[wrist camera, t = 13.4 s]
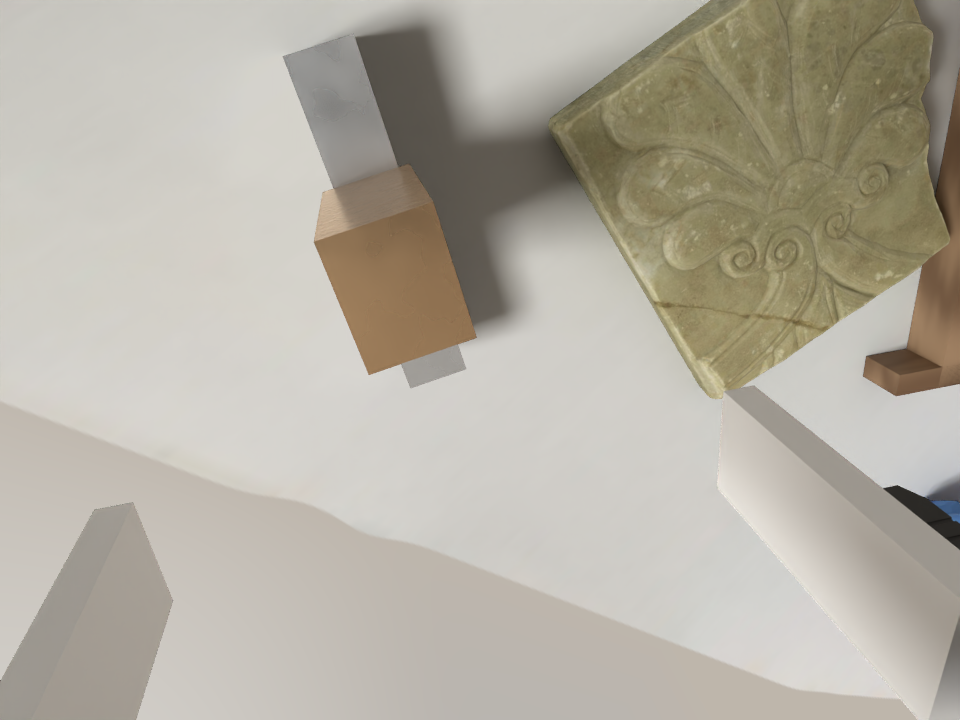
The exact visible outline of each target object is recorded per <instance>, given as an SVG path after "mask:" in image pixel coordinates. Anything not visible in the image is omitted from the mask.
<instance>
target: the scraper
mask: <svg viewBox="0 0 960 720" xmlns="http://www.w3.org/2000/svg"><path fill="white" fill-rule="evenodd" d="M283 58H284V61H285V64H286V66H287V69H288V71H289V74H290V77H291V79H292V82H293V84H294V87H295V90H296V92H297V95H298V97H299V100H300V103H301V105H302V108H303V110H304V113H305V116H306V118H307V121H308V123H309V126H310V129H311V131H312V134H313V136H314V139H315V142H316V144H317V147H318V149H319V152H320V155H321V157H322V160H323V162H324V165H325V168H326V170H327V173H328V175H329V178H330V181H331V183H332V186H333V188H334V189H331V190H328V191H325V192H323V194H322V199H321V205H320V210H319V216H318V221H317V227H316V232H315V238H314V243H315V246H316V248H317V251H318V253H319V255H320V258H321V260H322V263H323V265H324V268H325V270H326V272H327V275H328V277H329V280H330V282H331V284H332V287H333V289H334V292H335V294H336V297H337V299H338V301H339V304H340V306H341V309H342V311H343V313H344V316H345V318H346V321H347V323H348V326H349V328H350V330H351V333H352V335H353V338H354V340H355V342H356V345H357V347H358V350H359V352H360V355H361V357H362V359H363V362H364V364H365V367H366V369H367V371H368V374H369V375H370V374H373V373H376V372H379V371H382V370H385V369H388V368H391V367H394V366H396V365H399V364H401V365H402V368H403V370H404V373H405V375H406V378H407V381H408V383H409V386H410V388H413V387H416V386H419V385H422V384H425V383H427V382H430V381H433V380H436V379H439V378H442V377H445V376H448V375H451V374H453V373H456V372H459V371H462V370H465V369H466V367H465V364H464V361H463V358H462V355H461V352H460V349H459V346H458V344H460V343H463V342H466V341H469V340H472V339H475V338H477V337H476V334H475V331H474V328H473V324H472V321H471V318H470V315H469V312H468V309H467V306H466V303H465V299H464V296H463V293H462V290H461V287H460V284H459V281H458V278H457V274H456V271H455V268H454V265H453V262H452V259H451V256H450V253H449V249H448V246H447V243H446V240H445V237H444V234H443V231H442V227H441V224H440V221H439V218H438V215H437V212H436V209H435V206H434V202H433V201H432V199H431V197H430V196H429V194H428V193H427V191H426V189H425V188H424V186H423V185H422V183H421V182H420V180H419V178H418V177H417V175H416V174H415V172H414V171H413V169H412V167H411V166H410V164H407V165H403V166H400V167H398V165H397V162H396V159H395V156H394V153H393V150H392V147H391V144H390V141H389V138H388V135H387V132H386V129H385V126H384V123H383V120H382V117H381V114H380V111H379V108H378V105H377V102H376V99H375V96H374V93H373V90H372V87H371V84H370V81H369V78H368V75H367V72H366V69H365V66H364V63H363V60H362V57H361V54H360V51H359V48H358V45H357V42H356V39H355V36H354V34H351V35H348V36H345V37H342V38H339V39H336V40H332V41H329V42H326V43H323V44H320V45H317V46H314V47H311V48H307V49H304V50H301V51H298V52H295V53H292V54H289V55H286V56H283Z"/></svg>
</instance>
